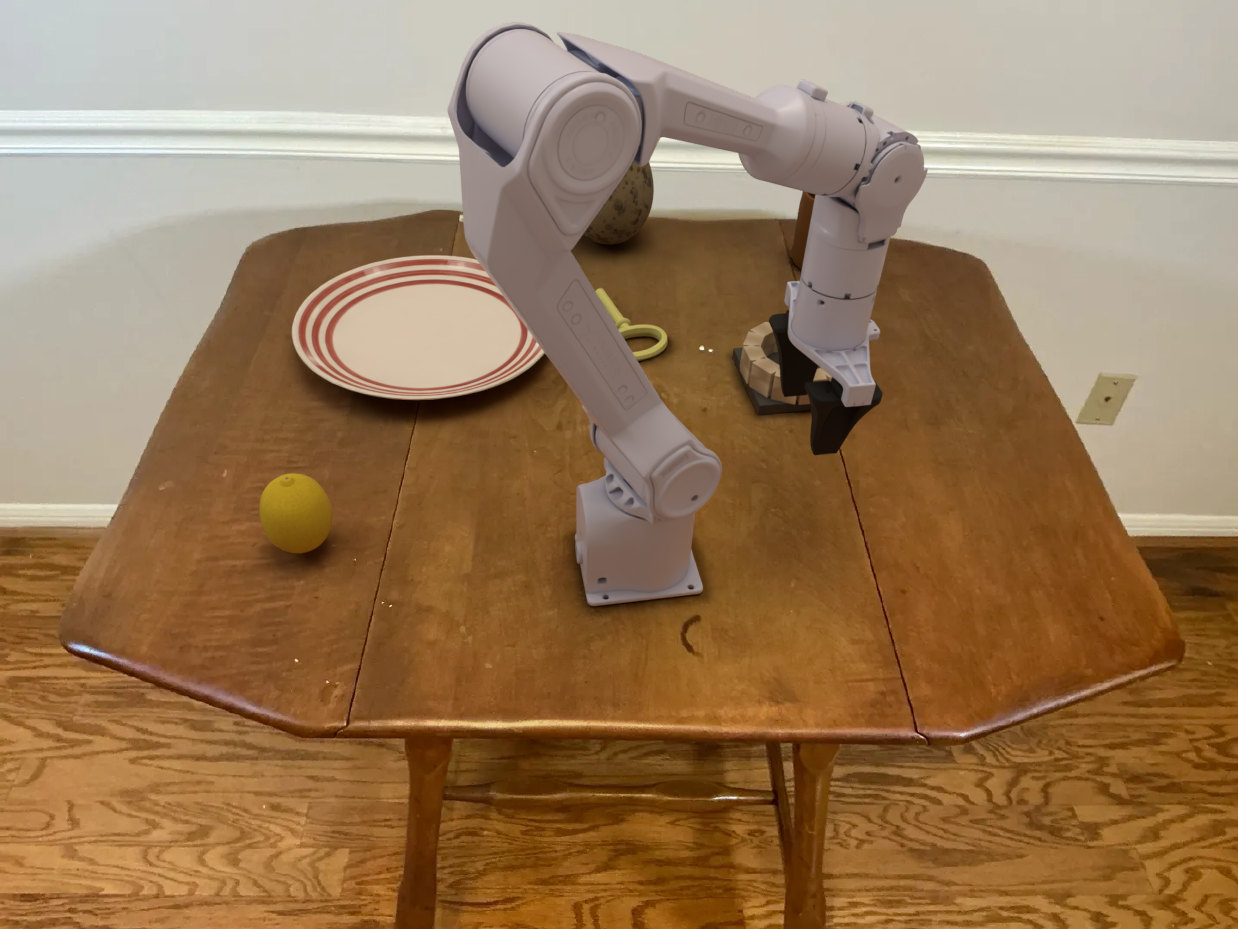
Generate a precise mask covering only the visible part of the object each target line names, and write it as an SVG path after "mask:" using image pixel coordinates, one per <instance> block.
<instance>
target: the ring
mask: <svg viewBox="0 0 1238 929" xmlns="http://www.w3.org/2000/svg"><path fill="white" fill-rule="evenodd" d="M749 330H750V331H748V332H747V334H746V337H745V338H744V341H743V343H742V347H741V348H742V355H741V362H740V371H741V373H742V375H743V377H744V379H745V381H746V383H747V384H749V387H751V388H752V389H754V390H756V391H757V392H759V393H760V394H762V395H763V396H765V397H766V398H768V397H769V396H771V399H772V400H776V401H780V402H785V403H789V404H794V405H795V403H796V400H797V402H798V404H799V405H803V404H810V401H809V397H808V394H807V395H802V396H791V397H784V395H783V393H782V389H781V380H780V365H778V364H777V363H775V362H773V361H772V360H770V359H768V358H767V356H769V355H770V354H772V353H777V352H778V349H777V344H776V340H775V336H774V333H773V330H772V328H771V325H770V323H769V321H765V322H762V323H760V324H758V325H756V326H755V327H752V328H751V329H749ZM831 379H832V376H831V375H829V374H828V373H827V372H826V371H825V370H823V369H822V368H819V369H817V371H816V374H815V377H814V380H813V382H816V381H828V380H829V381H831Z"/></svg>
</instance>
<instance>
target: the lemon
mask: <svg viewBox="0 0 1238 929" xmlns="http://www.w3.org/2000/svg"><path fill="white" fill-rule="evenodd" d="M258 512H259V521H260V525H261V527H262V530H263V532H264V534H265V536H266V538H268V541H270V542H271V543H272V545H274V546H275V547H276V548H278V549H280V550H281V551H284V552H287V553H291V554H304V553H308V552H311V551H314V550H315V549H317V548H318V547H319V546H321V545H322V544H323V543H324V542H325V541H326V539H327V538H328V537H329V534H330V532H331V529H332V525H333V509H332V506H331V501H330V499H329V496H328V495H327V493H326V492H325V490H324V488H323V487H322V486H321V484H320V483H319V482H318V481H316V480H315V479H314V478H313V477H310V476H308V475H306V474H303V473H295V472H293V473H292V472H291V473H285V474H281V475H279V476H278V477H276V478H274V479H272V480H271V481H270V482H269V483H268V484H267V486H266V487H265V488H264V489H263V490H262V494H261V496H260V499H259V511H258Z"/></svg>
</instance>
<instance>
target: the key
mask: <svg viewBox="0 0 1238 929" xmlns="http://www.w3.org/2000/svg"><path fill="white" fill-rule="evenodd" d="M595 292H596V293H597V295H598V297H599V298H600V300H601V302H602V303H603V305H604V307H605V308H606V310H607V312H608V313H609V315H610V316H611V318H612V320H613V321H614V323H615V325H616V326H617V328H618V330H619V331H620V333H621V335H622V336H623V338H624V339H625V340H626V339H630V338H636V337H651V338H654V339H656V340H658V342H657V343H656V344H655V345H653V346H651V347H648V348H647V349H644V350H639V351H632V353H633V354H634V356H635V358H636V359H637V361H638V362H640V361H645V360H648V359H652V358H655V357H657V356H658V355H660V354H662V353H663V352H664V351H665V350H666V348H667V346H668V343H669V342H668V335H667V333H666V332H665V330H664V329H662V328H661V327H659V326H657V325H653V324H634V325H632V322H631V320H630V319H629V318H627V317H624V316H623V315H622V313H621V312H620V311H619V309H618V308H617V307H616V305H615V303H614V302H613V300H612V298H610V297H609V295H608V294H607V292H606V291H605V289H604V288H602V287H599V288H597V289H596V290H595Z"/></svg>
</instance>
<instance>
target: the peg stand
mask: <svg viewBox="0 0 1238 929" xmlns="http://www.w3.org/2000/svg"><path fill="white" fill-rule="evenodd" d="M742 348H743V347H733V349H732V355H731V356H732V360H733V362H734V364H735V367H736V369H737V371H738V373H739V375H740V378H741V380H742V382H743V385H744V386H745V389H746V391H747V393H748V396H749V398H750V401H751V403H752V405H753V406H754V409H755V411H756V412H757V415H759V416H760V415H771V414H784V413H793V412H804V411H811V405H810V404H803V405H799V404H798V402H797V400H796V403H795V405H794V404H789V403H785V402H780V401H776V400H772V399H771V396H769V397H768V398H766V397H765V396H763V395H762V394H760V393H759V392H757V391H756V390H754V389H752V388H751V387H749V384H747V383H746V381H745V379H744V377H743V375H742V373H741V371H740V362H741V355H742ZM767 358H768V359H770V360H772V361H773V362H775V363H777V364H778V365H779V355H778V352H777V353H772V354H770V355H769V356H767ZM819 368H821V367H820V366H818V367H817V369H819Z"/></svg>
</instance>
